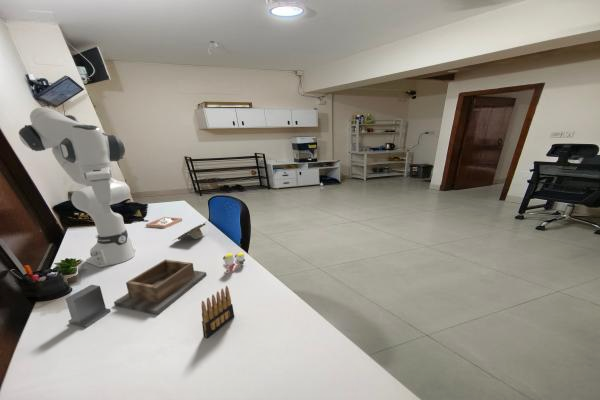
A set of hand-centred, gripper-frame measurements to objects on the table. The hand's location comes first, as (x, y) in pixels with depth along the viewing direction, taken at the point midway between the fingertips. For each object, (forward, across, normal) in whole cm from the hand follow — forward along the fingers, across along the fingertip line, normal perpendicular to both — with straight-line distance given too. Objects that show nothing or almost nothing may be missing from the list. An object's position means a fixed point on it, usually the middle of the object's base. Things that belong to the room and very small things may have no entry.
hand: (107, 210), depth 92 cm
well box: (+34, +8, +12) cm, 37 cm away
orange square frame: (+33, -84, +31) cm, 95 cm away
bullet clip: (+35, +43, +20) cm, 59 cm away
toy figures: (+35, +12, +40) cm, 54 cm away
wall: (+34, -39, +36) cm, 63 cm away
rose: (+33, -83, +32) cm, 95 cm away
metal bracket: (+34, +8, -12) cm, 37 cm away
